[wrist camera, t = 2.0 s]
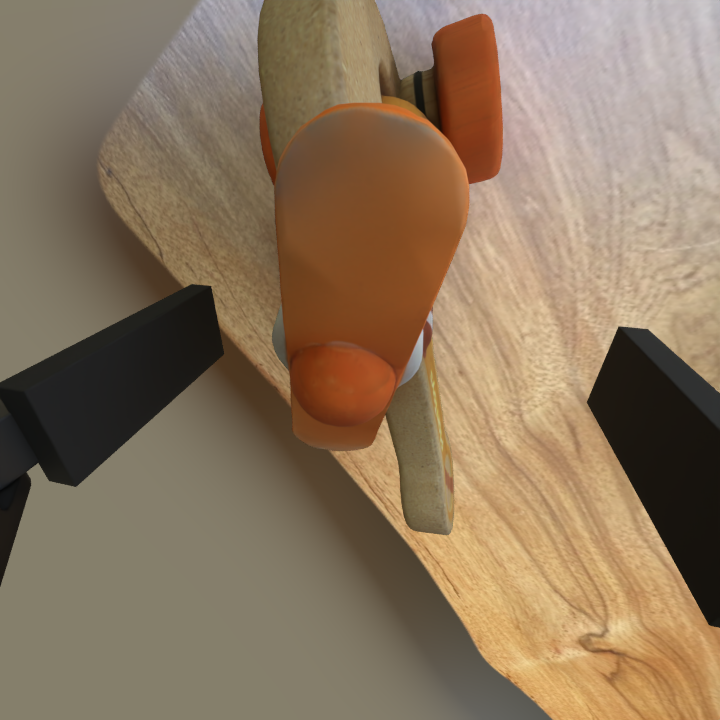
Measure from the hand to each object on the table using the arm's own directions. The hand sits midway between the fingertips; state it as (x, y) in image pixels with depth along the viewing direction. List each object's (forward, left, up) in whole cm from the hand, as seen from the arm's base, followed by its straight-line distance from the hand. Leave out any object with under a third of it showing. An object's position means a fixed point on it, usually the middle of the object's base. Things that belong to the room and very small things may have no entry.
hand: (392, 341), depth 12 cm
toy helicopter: (0, 0, -8) cm, 8 cm away
